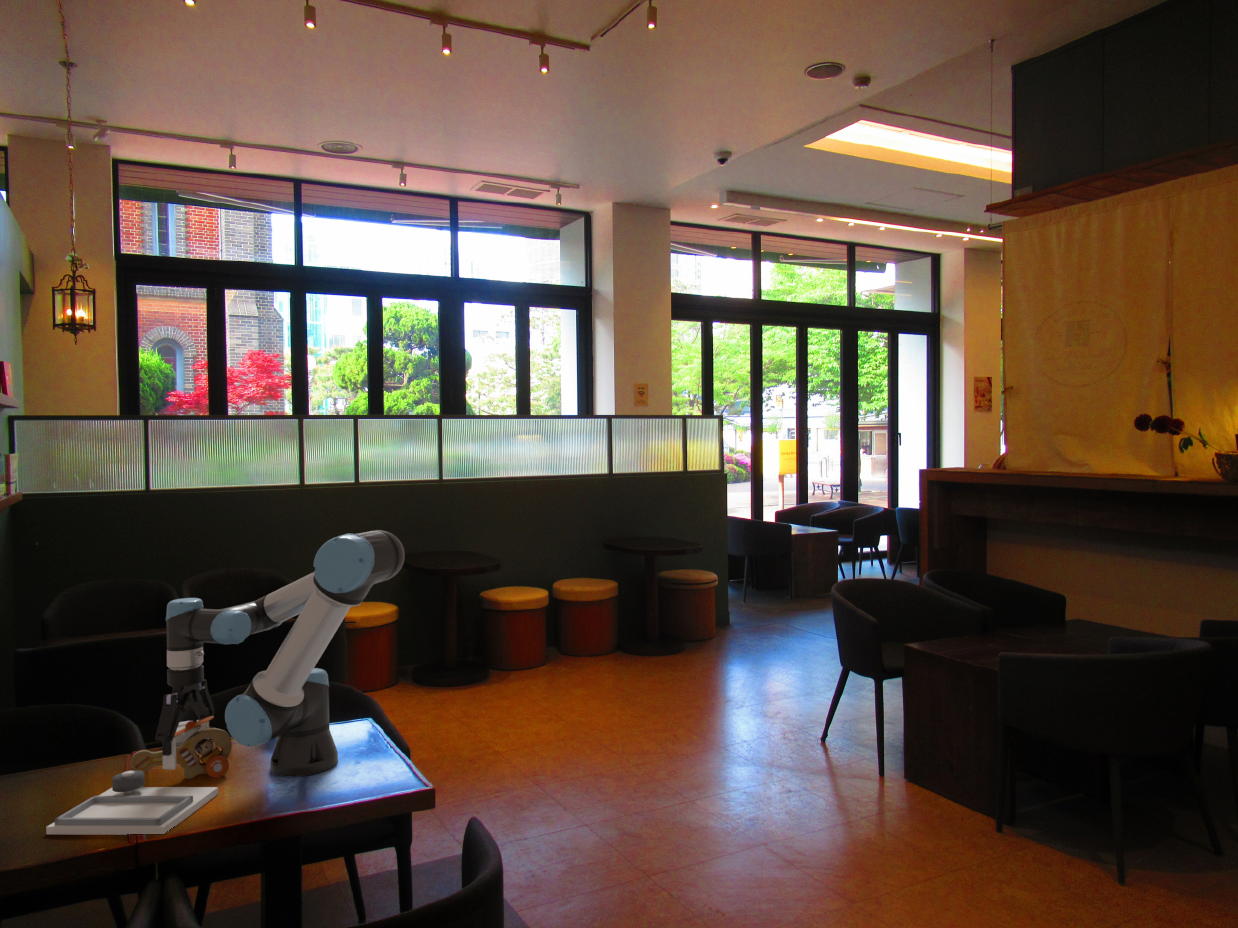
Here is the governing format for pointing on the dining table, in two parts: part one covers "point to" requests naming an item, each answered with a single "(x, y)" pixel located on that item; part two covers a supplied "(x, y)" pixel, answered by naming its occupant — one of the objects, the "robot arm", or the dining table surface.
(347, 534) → the robot arm
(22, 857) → the dining table surface
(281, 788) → the dining table surface
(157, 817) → the board
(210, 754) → the toy helicopter
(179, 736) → the robot toy
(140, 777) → the wheel
